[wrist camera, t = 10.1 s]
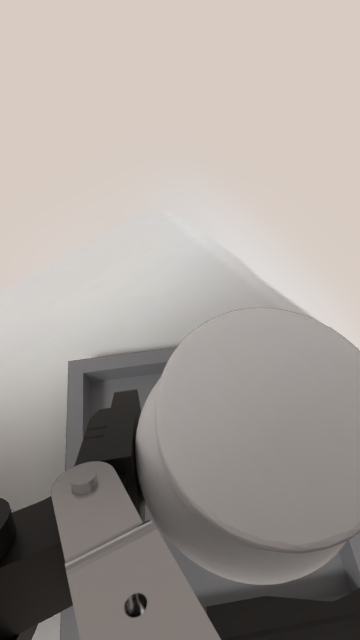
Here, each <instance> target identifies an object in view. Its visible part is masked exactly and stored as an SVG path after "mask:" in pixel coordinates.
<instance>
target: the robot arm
mask: <svg viewBox="0 0 360 640" xmlns="http://www.w3.org/2000/svg"><path fill="white" fill-rule="evenodd" d="M140 415H141V408H140V401H139V395H138V390H137V389H132V390H125V391H118V392H114V395H113V400H112V404H111V408H106V409H99V410H98V411H97V412H96V413H95V414H94V415H93V416H92V417H91V418H90V419H89V422H88V426H87V429H86V432H85V435H84V440H83V441H82V444H81V447H80V450H79V453H78V456H77V459H76V462H75V465H74V467H72V468H71V469H69V470H67V471H66V472H64V473H63V474H62V475H61V476H60V477H59V478H58V479H57V480H56V481H55V483H54V485H53V487H52V490H51V496H50V497H49V498H47V499H45V500H43V501H41V502H38V503H36V504H34V505H31V506H28V507H26V508H23V509H21V510H18V511H16V512H13V513H12V512H11V509H10V506H9V503H8V502H7V501H6V500H4V499H1V498H0V640H31V639H32V637H33V635H34V632H35V630H36V627H37V625H38V623H40V622H42V621H44V620H46V619H48V618H50V617H52V616H54V615H55V614H57V613H59V612H61V611H63V610H65V609H67V608H69V607H71V606H73V607H74V612H75V617H76V622H77V626H78V631H79V636H80V640H360V588H358V589H356V590H355V591H353V592H351V593H349V594H347V595H346V596H344V597H342V598H340V599H338V600H336V601H318V600H307V599H296V598H284V597H273V596H261V597H256V598H250V599H245V600H240V601H234V602H229V603H223V604H218V605H212V606H207V607H206V612H207V614H206V612H205V611H204V609H203V607H202V606H201V604H200V602H199V600H198V599H197V597H196V595H195V593H194V592H193V590H192V588H191V586H190V585H189V583H188V581H187V579H186V578H185V576H184V574H183V572H182V571H181V569H180V567H179V565H178V564H177V562H176V560H175V559H174V557H173V555H172V553H171V552H170V550H169V548H168V546H167V545H166V543H165V541H164V539H163V538H162V536H161V534H160V532H159V531H158V529H157V527H156V526H155V524H154V523H153V522H152V521H151V520H148V521H146V522H145V505H146V501H145V499H144V497H143V494H142V490H141V487H140V484H139V479H138V474H137V469H136V460H135V442H136V432H137V427H138V422H139V418H140Z"/></svg>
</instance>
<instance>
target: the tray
mask: <svg viewBox="0 0 360 640" xmlns="http://www.w3.org/2000/svg"><path fill="white" fill-rule="evenodd" d="M176 348H177V347H175V348H167V349H159V350H152V351H144V352H136V353H128V354H121V355H113V356H105V357H97V358H90V359H82V360H74V361H68V394H67V427H66V460H65V472H66V471H67V470H69V469H71V468H72V467H74V465H75V462H76V459H77V456H78V453H79V450H80V447H81V444H82V441H83V440H84V435H85V432H86V429H87V426H88V422H89V419H90V418H91V417H92V416H93V415H94V414H95V413H96V412H97V411H98V410H99V409H106V408H111V404H112V400H113V395H114V392H118V391H125V390H132V389H137V390H138V395H139V401H140V408H141V412H142V409H143V407H144V404H145V402H146V400H147V398H148V396H149V394H150V392H151V390H152V389H153V387H154V386H155V385H156V383H157V382H158V380H159V379H160V378H161V376H162V373H163V371H164V368H165V366H166V364H167V362H168V360H169V358H170V357H171V355H172V354H173V352H174V351H175V349H176ZM148 520H151V521H152V522H153V523H154V524H155V526H156V527H157V529H158V531H159V532H160V534H161V536H162V538H163V539H164V541H165V543H166V545H167V546H168V548H169V550H170V552H171V553H172V555H173V557H174V559H175V560H176V562H177V564H178V565H179V567H180V569H181V571H182V572H183V574H184V576H185V578H186V579H187V581H188V583H189V585H190V586H191V588H192V590H193V592H194V593H195V595H196V597H197V599H198V600H199V602H200V604H201V606H202V607H203V609H204V611H205V612H206V607H207V606H212V605H218V604H223V603H229V602H234V601H240V600H245V599H250V598H256V597H261V596H273V597H284V598H296V599H307V600H318V601H336V600H338V599H340V598H342V597H344V596H346V595H347V594H349V593H351V592H353V591H355V590H356V589H358V588H360V533H358V534H357V535H355V536H354V537H352V538H351V539H349V540H348V541H347V542H346V543H345V544H344V546H343V547H342V548H341V550H340V551H339V552H338V553H337V554H336V555H335V556H334V557H333V558H332V559H331V560H330V561H328V562H327V563H326V564H325V565H323V566H322V567H320V568H319V569H317V570H315V571H314V572H312V573H310V574H308V575H306V576H304V577H302V578H299V579H295V580H291V581H288V582H286V583H280V584H269V585H256V584H246V583H241V582H236V581H232V580H229V579H226V578H223V577H221V576H218V575H216V574H214V573H212V572H209V571H207V570H206V569H204V568H202V567H201V566H199V565H197V564H196V563H195V562H193V561H192V560H190V559H189V558H187V557H186V556H185V555H184V554H183V553H182V552H180V551H179V550H178V549H177V548H176V547H175V546H174V545H173V544H172V543H171V542H170V540H169V539H168V538H167V537H166V536H165V534H164V533H163V532H162V531H161V529H160V527H159V526H158V524H157V523H156V521H155V520H154V518H153V516H152V514H151V512H150V510H149V509H148V506H147V504H146V505H145V522H146V521H148ZM206 614H207V612H206ZM60 640H80V636H79V631H78V626H77V622H76V617H75V612H74V607H73V606H71V607H69V608H67V609H65V610H63V611H61V624H60Z"/></svg>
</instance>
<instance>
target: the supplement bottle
mask: <svg viewBox="0 0 360 640" xmlns="http://www.w3.org/2000/svg"><path fill="white" fill-rule="evenodd" d="M135 460H136V469H137V474H138V479H139V484H140V487H141V490H142V494H143V497H144V499H145V501H146V504H147V506H148V509H149V510H150V512H151V514H152V516H153V518H154V520H155V521H156V523H157V524H158V526H159V527H160V529H161V531H162V532H163V533H164V534H165V536H166V537H167V538H168V539H169V540H170V542H171V543H172V544H173V545H174V546H175V547H176V548H177V549H178V550H179V551H180V552H182V553H183V554H184V555H185V556H186V557H187V558H189V559H190V560H192V561H193V562H195V563H196V564H197V565H199V566H201V567H202V568H204V569H206V570H207V571H209V572H212V573H214V574H216V575H218V576H221V577H223V578H226V579H229V580H232V581H236V582H241V583H246V584H256V585H269V584H280V583H286V582H288V581H291V580H295V579H299V578H302V577H304V576H306V575H308V574H310V573H312V572H314V571H315V570H317V569H319V568H320V567H322V566H323V565H325V564H326V563H327V562H328V561H330V560H331V559H332V558H333V557H334V556H335V555H336V554H337V553H338V552H339V551H340V550H341V548H342V547H343V546H344V544H345V543H346V542H347V541H348V540H349V539H351V538H352V537H354V536H355V535H357V534H358V533H360V351H359V349H357V347H355V346H354V345H353V344H352V343H351V342H349V341H348V340H347V339H346V338H344V337H343V336H342V335H341V334H339V333H337V332H336V331H335V330H333V329H332V328H330V327H328V326H326V325H324V324H322V323H320V322H318V321H316V320H314V319H312V318H309V317H307V316H304V315H301V314H298V313H294V312H291V311H286V310H281V309H272V308H252V309H242V310H237V311H232V312H228V313H225V314H222V315H220V316H218V317H215V318H213V319H211V320H209V321H207V322H205V323H204V324H202V325H201V326H199V327H198V328H197V329H195V330H194V331H193V332H191V333H190V334H189V335H188V336H187V337H186V338H185V339H184V340H183V341H182V342H181V343H180V345H179V346H178V347H177V348H176V349H175V351H174V352H173V354H172V355H171V357H170V358H169V360H168V362H167V364H166V366H165V368H164V371H163V373H162V376H161V378H160V379H159V380H158V382H157V383H156V385H155V386H154V387H153V389H152V390H151V392H150V394H149V396H148V398H147V400H146V402H145V404H144V407H143V409H142V412H141V415H140V418H139V422H138V427H137V432H136V442H135Z"/></svg>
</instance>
